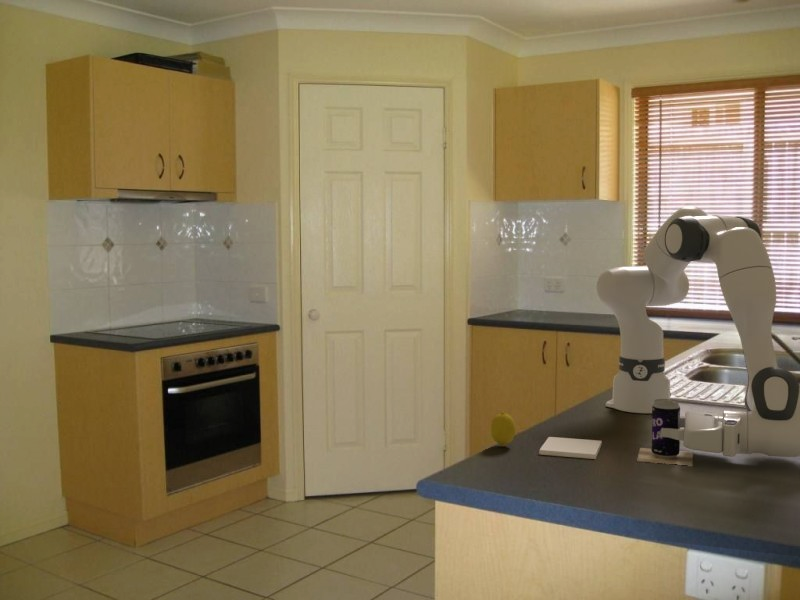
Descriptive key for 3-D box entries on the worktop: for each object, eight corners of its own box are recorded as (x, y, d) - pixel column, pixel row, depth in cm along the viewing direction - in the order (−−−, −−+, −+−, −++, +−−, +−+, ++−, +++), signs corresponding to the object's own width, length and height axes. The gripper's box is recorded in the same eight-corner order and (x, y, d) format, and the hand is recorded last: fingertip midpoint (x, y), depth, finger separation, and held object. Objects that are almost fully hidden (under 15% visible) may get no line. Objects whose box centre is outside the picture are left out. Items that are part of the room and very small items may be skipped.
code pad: (640, 448, 181) (640, 447, 181) (692, 452, 177) (692, 451, 177) (636, 461, 171) (636, 460, 171) (692, 466, 167) (692, 465, 167)
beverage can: (657, 451, 178) (658, 397, 177) (683, 455, 174) (684, 400, 174) (647, 456, 174) (648, 401, 173) (673, 461, 170) (674, 404, 169)
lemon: (501, 442, 188) (501, 408, 188) (520, 446, 184) (520, 411, 184) (485, 446, 184) (485, 412, 184) (505, 451, 180) (505, 415, 180)
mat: (548, 441, 189) (548, 436, 189) (601, 445, 185) (601, 440, 184) (539, 454, 177) (539, 449, 177) (595, 459, 173) (595, 454, 173)
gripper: (729, 406, 179) (663, 402, 183) (733, 427, 159) (659, 422, 164) (729, 434, 179) (663, 429, 184) (732, 459, 160) (659, 453, 165)
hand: (661, 426), depth 174 cm, fingers open, 8 cm apart
